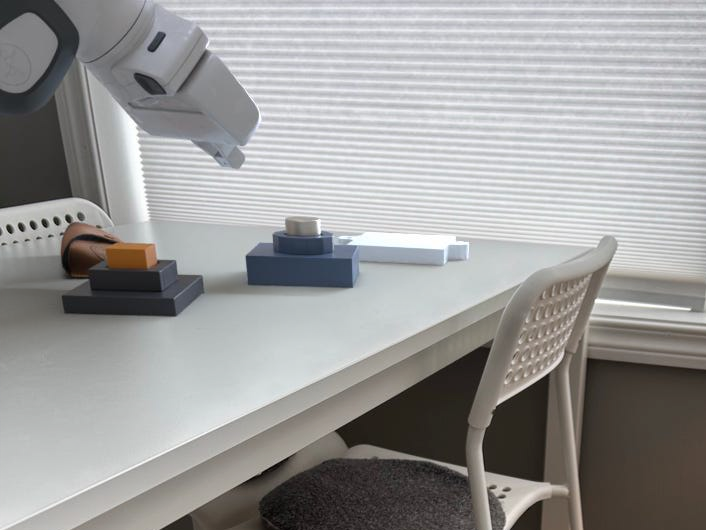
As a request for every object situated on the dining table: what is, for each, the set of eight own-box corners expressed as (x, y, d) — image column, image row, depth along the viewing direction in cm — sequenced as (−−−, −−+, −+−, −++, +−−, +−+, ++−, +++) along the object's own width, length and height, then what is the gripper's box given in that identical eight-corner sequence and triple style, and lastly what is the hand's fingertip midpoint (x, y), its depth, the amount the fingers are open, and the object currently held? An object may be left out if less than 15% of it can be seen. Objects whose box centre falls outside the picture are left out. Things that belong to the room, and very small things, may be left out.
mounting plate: (472, 251, 136) (473, 237, 135) (462, 265, 125) (463, 250, 124) (349, 245, 137) (348, 231, 136) (328, 259, 126) (327, 243, 125)
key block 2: (247, 285, 109) (243, 238, 106) (261, 270, 117) (258, 226, 115) (352, 288, 109) (351, 241, 107) (359, 273, 118) (358, 229, 115)
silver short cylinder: (283, 239, 109) (282, 220, 108) (288, 234, 112) (287, 215, 111) (318, 240, 109) (317, 221, 108) (322, 235, 113) (321, 217, 112)
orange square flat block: (108, 271, 88) (104, 248, 87) (119, 265, 91) (116, 242, 90) (148, 272, 88) (144, 249, 87) (157, 266, 91) (154, 243, 90)
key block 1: (67, 331, 86) (56, 274, 84) (107, 305, 97) (98, 253, 94) (178, 334, 87) (171, 277, 84) (206, 307, 97) (200, 256, 95)
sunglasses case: (142, 272, 110) (103, 218, 106) (92, 306, 110) (51, 254, 106) (132, 249, 125) (97, 201, 121) (88, 279, 124) (52, 232, 120)
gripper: (69, 76, 97) (170, 178, 108) (170, 81, 84) (272, 196, 95) (104, 27, 97) (200, 134, 108) (208, 24, 85) (306, 145, 96)
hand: (235, 163), depth 102 cm, fingers closed
